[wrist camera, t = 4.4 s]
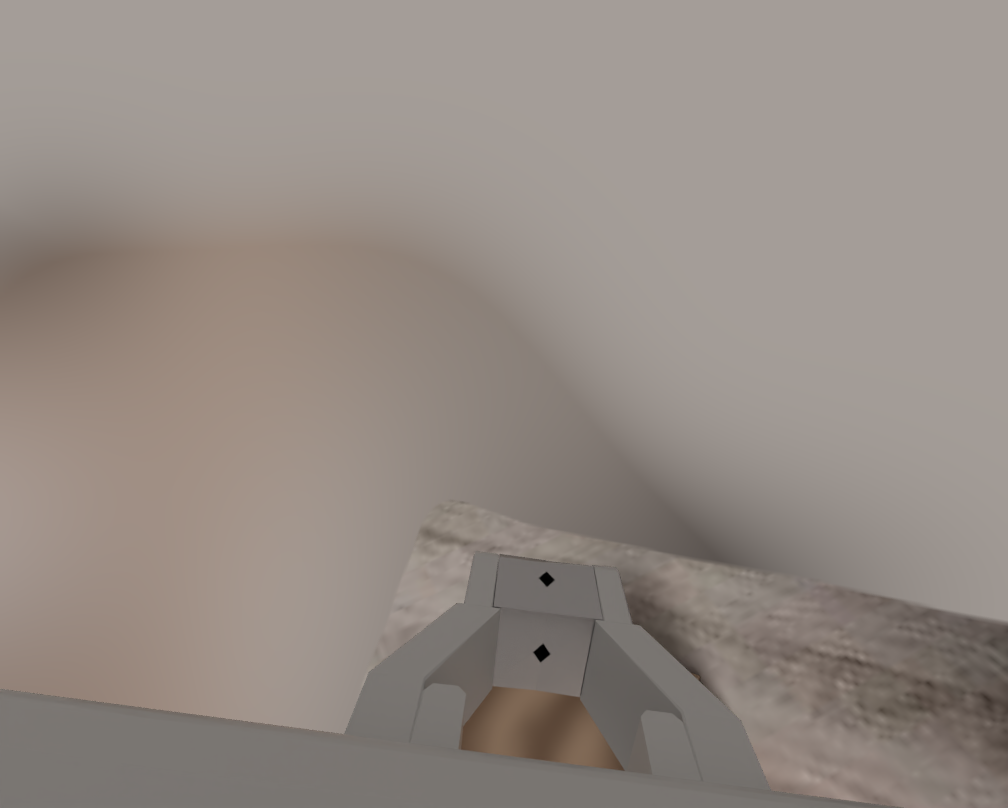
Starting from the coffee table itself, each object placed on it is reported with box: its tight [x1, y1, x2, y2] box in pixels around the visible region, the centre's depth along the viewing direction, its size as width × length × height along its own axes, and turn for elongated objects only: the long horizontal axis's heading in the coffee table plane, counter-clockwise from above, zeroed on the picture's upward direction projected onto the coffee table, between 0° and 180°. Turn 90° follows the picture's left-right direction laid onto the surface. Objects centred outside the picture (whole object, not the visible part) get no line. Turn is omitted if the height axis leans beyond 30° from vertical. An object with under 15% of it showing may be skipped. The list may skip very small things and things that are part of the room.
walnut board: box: [461, 672, 700, 771], centre depth 42 cm, size 20×16×1 cm
